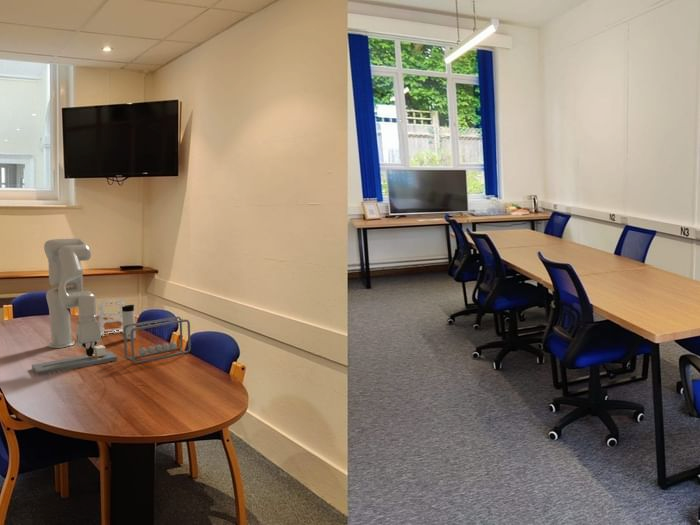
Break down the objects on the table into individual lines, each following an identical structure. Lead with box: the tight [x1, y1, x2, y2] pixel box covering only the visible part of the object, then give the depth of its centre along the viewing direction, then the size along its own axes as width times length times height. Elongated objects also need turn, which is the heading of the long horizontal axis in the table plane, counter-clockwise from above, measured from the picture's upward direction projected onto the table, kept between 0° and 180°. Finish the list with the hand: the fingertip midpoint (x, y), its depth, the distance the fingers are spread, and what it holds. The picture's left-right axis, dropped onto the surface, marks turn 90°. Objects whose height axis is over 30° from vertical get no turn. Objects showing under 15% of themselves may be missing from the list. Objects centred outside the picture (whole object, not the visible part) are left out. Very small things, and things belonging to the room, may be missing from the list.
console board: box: [31, 350, 118, 377], centre depth 242 cm, size 13×34×2 cm, turn 132°
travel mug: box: [122, 304, 137, 342], centre depth 286 cm, size 6×7×20 cm
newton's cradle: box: [122, 316, 192, 365], centre depth 255 cm, size 30×10×18 cm, turn 134°
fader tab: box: [93, 344, 107, 357], centre depth 249 cm, size 5×4×4 cm
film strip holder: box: [97, 299, 126, 337], centre depth 300 cm, size 14×14×20 cm
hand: (90, 355), depth 246 cm, fingers closed
